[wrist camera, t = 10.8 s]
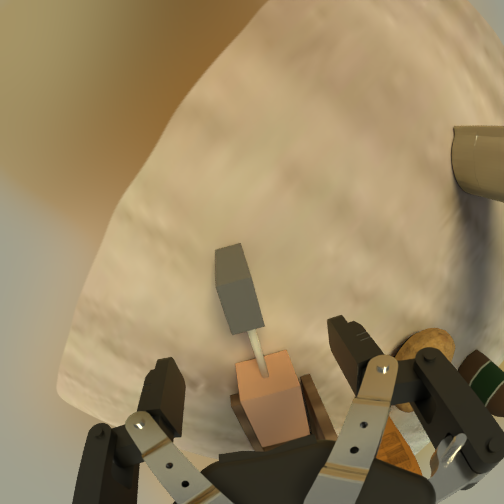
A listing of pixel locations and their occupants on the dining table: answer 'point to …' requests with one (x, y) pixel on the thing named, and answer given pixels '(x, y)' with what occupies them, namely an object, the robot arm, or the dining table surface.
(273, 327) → the dining table surface
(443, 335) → the potato
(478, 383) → the beer bottle
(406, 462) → the coffee package
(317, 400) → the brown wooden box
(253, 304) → the grey and tan blocks
